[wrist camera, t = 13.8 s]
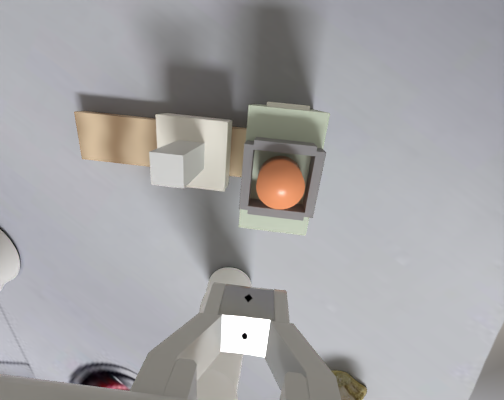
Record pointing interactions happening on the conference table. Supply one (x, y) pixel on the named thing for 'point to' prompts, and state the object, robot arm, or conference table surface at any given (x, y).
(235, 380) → the water bottle
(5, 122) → the conference table surface
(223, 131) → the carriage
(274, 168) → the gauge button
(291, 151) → the end cabinet
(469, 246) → the conference table surface
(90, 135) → the block
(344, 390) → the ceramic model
